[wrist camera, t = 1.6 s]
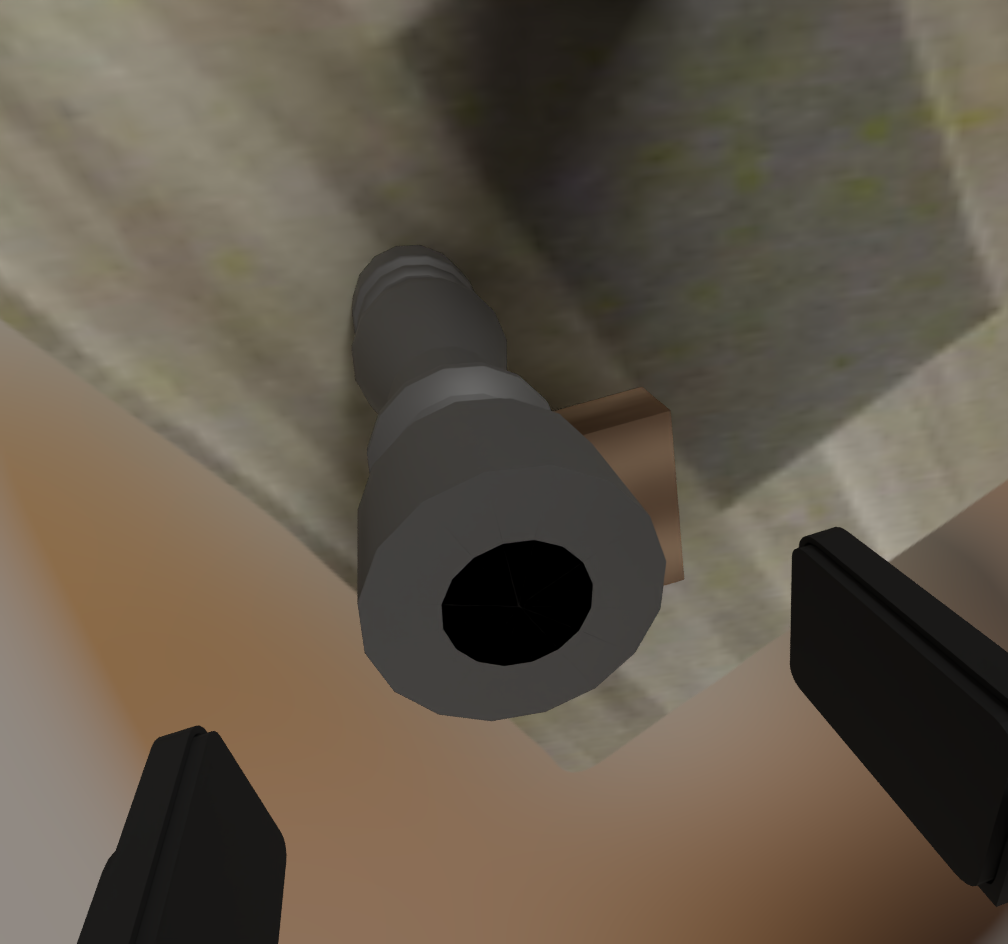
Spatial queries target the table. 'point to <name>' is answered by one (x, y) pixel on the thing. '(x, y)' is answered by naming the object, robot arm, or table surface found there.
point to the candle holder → (484, 512)
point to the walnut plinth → (638, 459)
